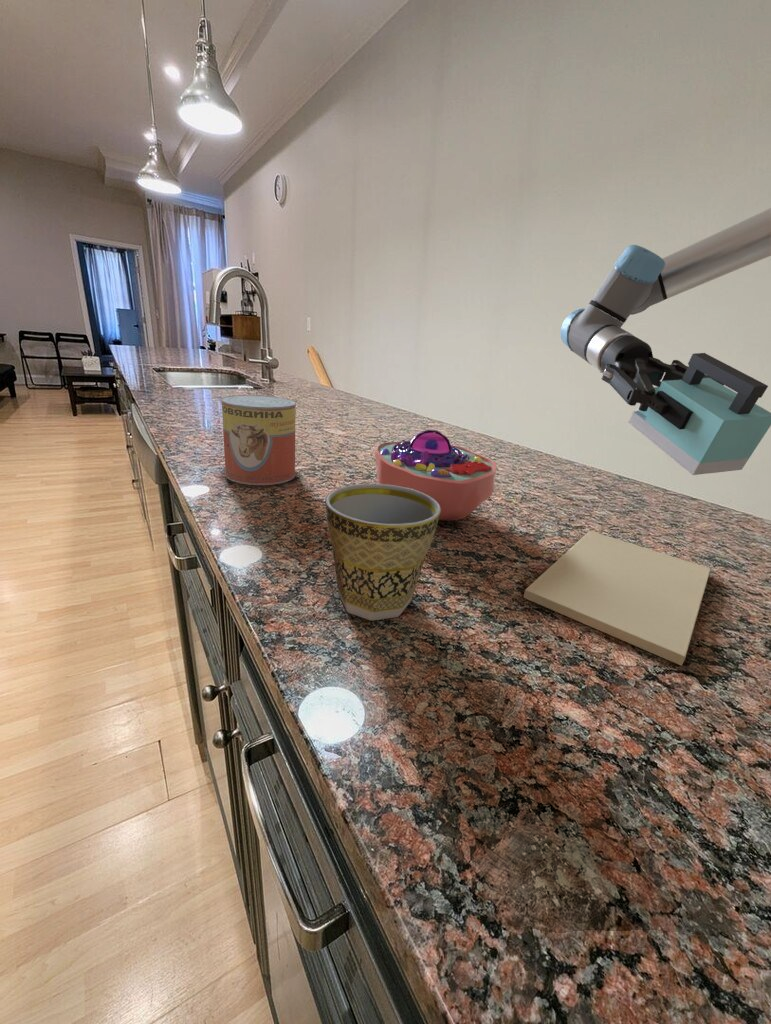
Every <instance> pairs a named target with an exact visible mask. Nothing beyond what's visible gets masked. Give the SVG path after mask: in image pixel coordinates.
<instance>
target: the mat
mask: <svg viewBox="0 0 771 1024" xmlns="http://www.w3.org/2000/svg"><path fill="white" fill-rule="evenodd" d="M710 573H711V568H710V567H708V566H705V565H701V564H698V563H695V562H692V561H688V560H686V559H682V558H679V557H675V556H673V555H669V554H666V553H662V552H660V551H657V550H654V549H650V548H647V547H644V546H641V545H638V544H634V543H632V542H627V541H626V540H622V539H618V538H615V537H613V536H609V535H606V534H603V533H599V532H596V531H593V530H588V532H587V533H585V534H584V535H583V536H582V537H581V538H580V539H579V540H578V541H577V542H575V543H574V544H573V546H571V547H570V548H569V549H568V550H567V551H566V552H565V553H563V554H562V555H561V556H560V557H559V558H558V559H557V560H556V561H555V562H554V563H553V564H551V565H550V566H549V567H548V568H547V569H546V570H545V571H544V572H543V573H542V574H541V575H540V576H538V577H537V578H536V579H535V580H534V581H533V582H532V583H531V584H530V585H528V586H527V587H526V588H525V589H524V593H523V598H524V599H525V600H527V601H530V602H533V603H535V604H537V605H540V606H542V607H544V608H546V609H548V610H551V611H553V612H556V613H558V614H560V615H563V616H565V617H567V618H570V619H571V620H574V621H576V622H579V623H581V624H583V625H586V626H588V627H590V628H593V629H595V630H598V631H600V632H602V633H605V634H607V635H609V636H612V637H614V638H616V639H618V640H621V641H623V642H625V643H628V644H630V645H632V646H634V647H637V648H639V649H642V650H644V651H646V652H648V653H651V654H653V655H655V656H657V657H660V658H662V659H665V660H667V661H669V662H671V663H674V664H676V665H678V666H683V664H684V662H685V660H686V657H687V654H688V650H689V646H690V643H691V639H692V637H693V634H694V633H693V632H694V629H695V625H696V623H697V619H698V615H699V613H700V608H701V605H702V601H703V598H704V594H705V590H706V587H707V584H708V581H709V577H710Z"/></svg>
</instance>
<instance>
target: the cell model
mask: <svg viewBox="0 0 771 1024" xmlns="http://www.w3.org/2000/svg"><path fill="white" fill-rule="evenodd" d="M373 454H374V460H375V468H376V469H375V470H376V472H375V473H376V476H375V478H376V479H375V480H376V484H387V485H395V486H401V487H405V488H412V489H415V490H416V491H419V492H422V493H424V494H426V495H428V496H430V497H431V498H433V499H434V500H435V501H436V502H437V503H438V504H439V505H440V508H441V512H440V516H439V520H438V522H439V521H440V522H441V521H458V520H462V519H464V518H466V517H468V516H469V515H470V514H471V513H473V511H475V510H476V509H477V508H478V507H480V506H481V505H482V504H483V503H485V501H487V500H488V499H489V498H491V496H492V495H493V494H494V490H495V485H496V483H495V482H496V474H497V462H496V461H495V460H493V459H491V458H488V457H486V456H484V455H482V454H481V453H477V452H476V451H474V450H471V449H468V448H465V447H461V446H458V445H453V444H451V442H450V440H449V438H448V437H447V436H446V435H445V434H444V433H442V432H441V431H439V430H438V429H437V430H436V429H424V430H423V431H421V432H418V433H416V434H415V435H414V436H413V437H412V438H411V440H403V441H389V442H383V443H380V444H377V445H375V446H374V449H373Z"/></svg>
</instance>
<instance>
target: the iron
mask: <svg viewBox="0 0 771 1024" xmlns="http://www.w3.org/2000/svg"><path fill="white" fill-rule="evenodd" d="M687 365H688V368H687V370H686V372H685V375H684V377H683V379H682V380H670V381H662V380H661V382H662V383H661V385H660V387H657V386H653V387H654V389H655V394H657V392H658V391H663V392H665V393H666V394H668V395H669V396H671V397H672V398H674V399H675V400H677V401H678V402H680V403H681V404H682V405H684V406H685V407H687V408H688V409H690V410H691V411H693V413H692V415H691V417H690V419H689V421H688V423H687V425H686V427H685V429H681V430H680V429H678V428H677V427H675V426H674V425H673V424H671V423H670V422H669V421H667V420H666V419H665V418H663V417H662V416H661V415H659V414H658V413H656V412H655V411H654V410H652V409H651V408H650V407H648V409H647V411H640V410H639V407H637V409H636V410H634V411H632V413H631V415H630V417H629V420H628V424H630V425H631V426H632V427H633V428H634V429H636V430H637V431H638V432H640V433H641V434H642V435H643V436H644V437H646V438H647V439H648V440H649V441H651V442H652V443H653V444H654V445H656V446H657V447H658V448H659V449H660V450H661V451H663V452H664V454H666V455H667V456H668V457H670V458H671V459H672V460H674V461H675V462H676V463H677V464H678V465H680V466H681V467H682V468H683V469H685V470H686V471H687V472H688V473H689V474H691V475H692V476H698V475H706V474H717V473H725V472H735V471H742V470H743V468H744V467H745V466H746V464H747V462H748V461H749V460H750V458H751V457H752V455H753V453H754V452H755V450H756V449H757V447H758V446H759V444H760V443H761V441H762V440H763V438H764V437H765V435H766V434H767V432H768V431H769V429H770V428H771V412H770V411H768V410H767V409H766V408H764V407H762V406H760V405H759V404H756V403H757V402H758V400H759V399H760V398H762V397H763V396H764V394H765V392H767V391H766V390H767V389H768V387H769V385H768V384H765V383H764V382H762V381H759V380H758V379H756V378H754V377H752V376H750V375H748V374H747V373H744V372H742V371H740V370H739V369H736V368H735V367H733V366H730V365H729V364H727V363H725V362H723V361H721V360H719V359H717V358H715V357H713V356H712V355H709V354H707V353H705V352H697V353H692V354H691V356H690V358H689V361H688V362H687ZM704 375H707V376H709V377H711V378H713V379H714V380H716V381H718V382H720V383H722V384H723V385H721V384H720V383H718V382H716V381H714V380H712V379H711V378H703V377H704Z"/></svg>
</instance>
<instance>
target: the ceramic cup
mask: <svg viewBox="0 0 771 1024" xmlns="http://www.w3.org/2000/svg"><path fill="white" fill-rule="evenodd" d="M324 504H325V515H326V523H327V529H328V530H327V531H328V536H329V539H330V544H331V550H332V558H333V563H334V571H335V579H336V586H337V593H338V596H339V598H340V600H341V602H342V605H343V606H344V609H345V611H346V612H347V614H350V615H354V616H356V617H359V618H362V619H365V620H368V621H372V622H373V621H379V620H385V619H392V618H399V617H400V616H401V614H402V613H403V612H404V611H405V610H406V608H407V607H408V605H409V604H410V603H411V602H412V599H413V596H414V594H415V590H416V587H417V585H418V581H419V578H420V575H421V572H422V569H423V566H424V563H425V559H426V557H427V554H428V552H429V549H430V547H431V545H432V542H433V539H434V537H435V534H436V531H437V527H438V523H439V521H438V520H439V516H440V512H441V508H440V505H439V504H438V503H437V502H436V501H435V500H434V499H433V498H431V497H430V496H428V495H426V494H424V493H422V492H419V491H416V490H415V489H412V488H405V487H401V486H395V485H387V484H377V483H357V484H350V485H345V486H341V487H338V488H335V489H334V490H332V491H331V492H329V493H328V494H327V495H326V497H325V500H324Z"/></svg>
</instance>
